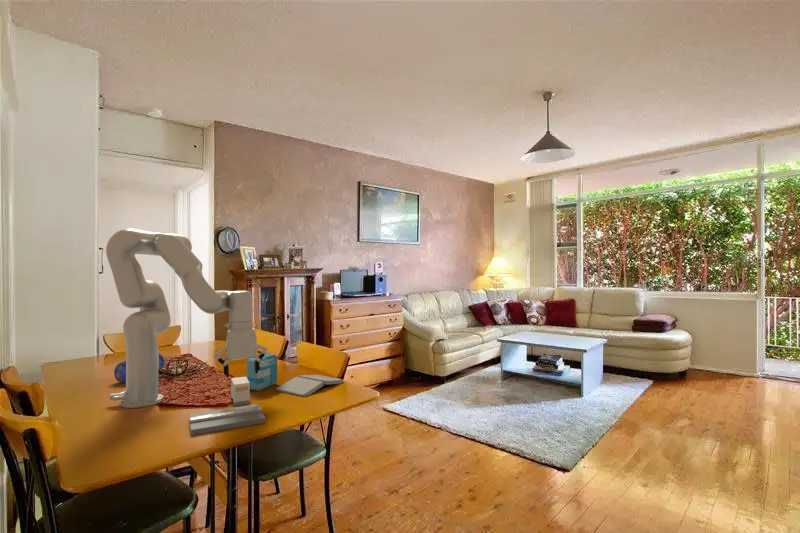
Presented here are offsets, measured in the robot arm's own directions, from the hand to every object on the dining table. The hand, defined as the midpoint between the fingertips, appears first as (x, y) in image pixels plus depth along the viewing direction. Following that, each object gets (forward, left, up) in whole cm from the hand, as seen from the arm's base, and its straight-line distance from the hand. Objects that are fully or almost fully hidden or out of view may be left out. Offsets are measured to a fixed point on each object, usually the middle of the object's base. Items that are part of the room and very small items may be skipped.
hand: (242, 374), depth 142 cm
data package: (+9, +14, -10) cm, 20 cm away
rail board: (-7, -18, -9) cm, 21 cm away
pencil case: (-34, +54, -10) cm, 64 cm away
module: (-1, 0, -9) cm, 9 cm away
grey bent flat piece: (+26, +6, -10) cm, 29 cm away
